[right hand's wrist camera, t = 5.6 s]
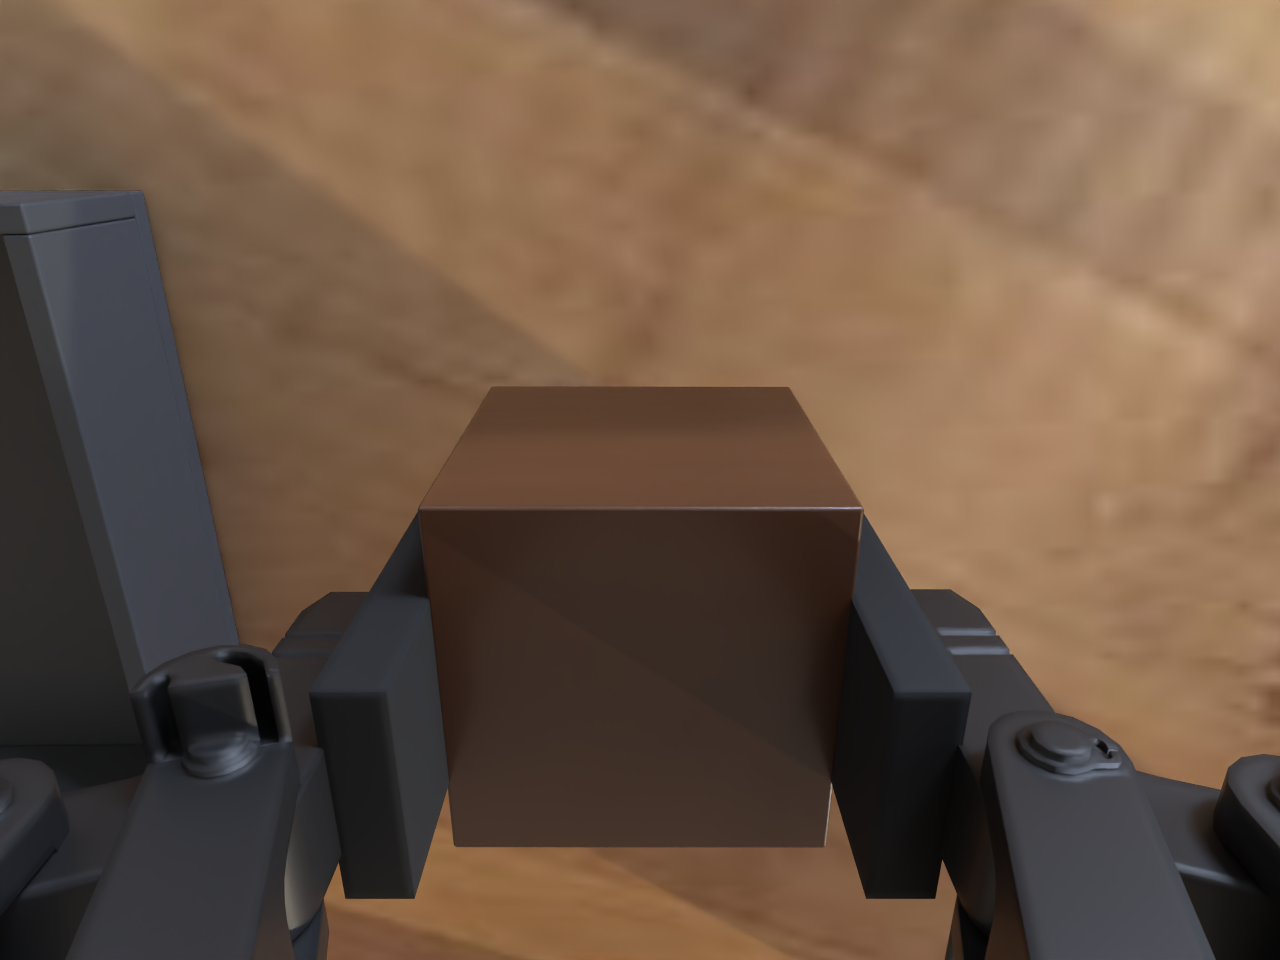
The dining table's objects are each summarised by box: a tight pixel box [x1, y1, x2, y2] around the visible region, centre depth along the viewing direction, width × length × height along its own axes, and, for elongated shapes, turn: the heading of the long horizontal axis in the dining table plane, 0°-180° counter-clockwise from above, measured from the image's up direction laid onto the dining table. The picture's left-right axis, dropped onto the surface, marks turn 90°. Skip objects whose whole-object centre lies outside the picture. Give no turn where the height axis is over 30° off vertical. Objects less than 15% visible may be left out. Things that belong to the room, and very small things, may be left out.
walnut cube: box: [418, 387, 864, 847], centre depth 13 cm, size 5×5×5 cm
